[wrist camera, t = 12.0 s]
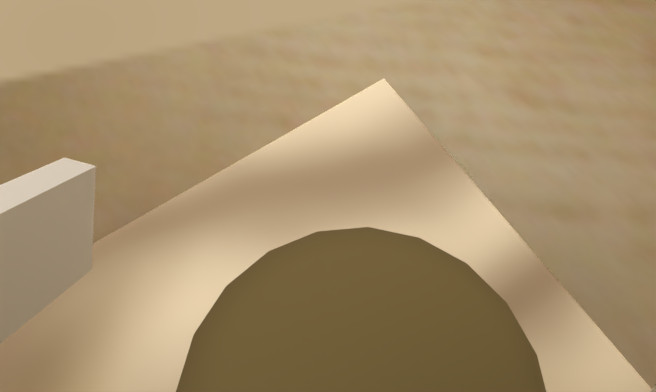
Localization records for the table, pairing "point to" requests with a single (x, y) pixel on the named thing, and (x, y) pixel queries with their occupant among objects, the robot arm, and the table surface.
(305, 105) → the table surface
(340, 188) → the birch board
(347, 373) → the olive pawn
